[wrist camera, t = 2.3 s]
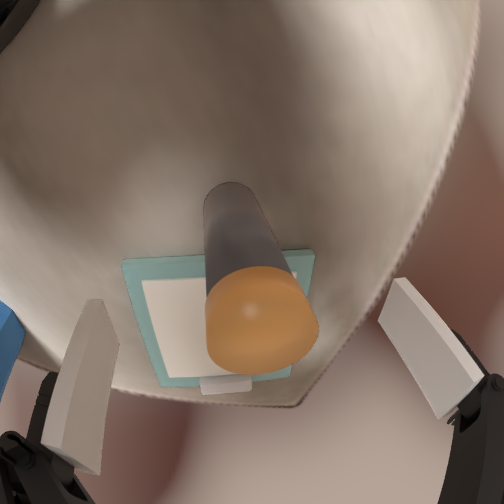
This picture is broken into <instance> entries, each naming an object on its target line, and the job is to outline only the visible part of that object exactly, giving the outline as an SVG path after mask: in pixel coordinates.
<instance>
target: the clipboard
mask: <svg viewBox="0 0 504 504" xmlns="http://www.w3.org/2000/svg"><path fill="white" fill-rule="evenodd" d="M282 254H283V256H284V258H285V260H286V262H287V264H288V266H289V268H290V270H291V272H292V274H293V277H294V278H295V279H296V280H297V281H298V282H299V284H300V286H301V288H302V290H303V292H304V294H305V296H306V298H307V297H308V292H309V287H310V281H311V276H312V271H313V265H314V260H315V254H314V252H313V251H312V249H304V250H286V251H282ZM121 267H122V271H123V275H124V278H125V282H126V286H127V290H128V293H129V297H130V300H131V303H132V307H133V310H134V313H135V317H136V320H137V323H138V326H139V329H140V332H141V335H142V338H143V341H144V344H145V346H146V349H147V352H148V355H149V357H150V360H151V363H152V365H153V368H154V370H155V373H156V376H157V378H158V380H159V383H160V385H161V387H193V386H200V389H201V393H202V395H210V394H225V393H236V392H246V391H252V382H256V381H264V380H272V379H279V378H286V377H289V376H290V372H291V368H292V365H290V366H288V367H286V368H284V369H281V370H278V371H275V372H271V373H267V374H260V375H242V374H236V373H232V372H229V371H227V370H224V369H223V368H221V367H219V366H218V365H216V364H215V363H214V362H213V361H212V359H211V358H210V356H209V354H208V351H207V342H206V325H205V302H206V299H207V298H206V276H205V255H193V256H174V257H156V258H137V259H124V260H123V263H122V265H121Z"/></svg>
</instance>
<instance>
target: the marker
mask: <svg viewBox="0 0 504 504" xmlns="http://www.w3.org/2000/svg"><path fill="white" fill-rule="evenodd" d="M204 248H205V276H206V298H207V299H206V302H205V325H206V342H207V351H208V354H209V356H210V358H211V359H212V361H213V362H214V363H215V364H216V365H218V366H219V367H221V368H223V369H224V370H227V371H229V372H232V373H236V374H242V375H260V374H267V373H271V372H275V371H278V370H281V369H284V368H286V367H288V366H290V365H292V364H294V363H295V362H297V361H298V360H300V359H301V358H302V357H303V356H305V355H306V354H307V353H308V352H309V351H310V349H311V348H312V347H313V345H314V343H315V342H316V339H317V337H318V332H319V326H318V322H317V320H316V317H315V315H314V313H313V311H312V309H311V307H310V305H309V302H308V300H307V298H306V296H305V294H304V292H303V290H302V288H301V286H300V284H299V282H298V281H297V280H296V279H295V278H294V277H293V274H292V272H291V270H290V268H289V266H288V264H287V262H286V260H285V258H284V256H283V254H282V251H281V249H280V247H279V245H278V243H277V241H276V239H275V237H274V235H273V233H272V231H271V229H270V227H269V225H268V223H267V221H266V219H265V217H264V215H263V213H262V211H261V209H260V207H259V205H258V203H257V200H256V198H255V197H254V195H253V193H252V192H251V191H250V190H249V189H248V188H247V187H246V186H244V185H242V184H239V183H232V182H230V183H224V184H221V185H219V186H217V187H215V188H214V189H213V190H211V191H210V193H209V194H208V195H207V197H206V199H205V202H204Z"/></svg>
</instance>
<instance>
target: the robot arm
mask: <svg viewBox="0 0 504 504" xmlns="http://www.w3.org/2000/svg"><path fill="white" fill-rule="evenodd" d="M39 1H40V0H0V52H1V51H2V50H3V49H4V48H5V47H6V46H7V45H8V43H9V42H10V41H11V40H12V39H13V38H14V36H15V35H16V34H17V33H18V31H19V30H20V29H21V27H22V26H23V25H24V23H25V22H26V21H27V19H28V18H29V16H30V15H31V13H32V12H33V10H34V9H35V7H36V6H37V4H38V3H39ZM378 322H379V323H380V325H381V326H382V328H383V329H384V331H385V332H386V334H387V336H388V337H389V338H390V340H391V342H392V343H393V345H394V346H395V348H396V350H397V351H398V353H399V354H400V356H401V357H402V359H403V361H404V362H405V364H406V365H407V367H408V369H409V370H410V372H411V374H412V375H413V377H414V379H415V380H416V382H417V384H418V385H419V387H420V389H421V390H422V392H423V394H424V396H425V397H426V399H427V401H428V403H429V404H430V406H431V408H432V410H433V411H434V413H435V415H436V417H437V419H438V420H439V419H441V418H443V417H445V416H446V415H448V414H450V413H451V412H452V411H453V410H454V409H455V408H456V407H457V406H458V408H459V410H458V411H456V413H455V414H453V415H452V416H451V417H450V419H449V420H448V422H447V424H449V423H451V422H452V421H453V420H454V419H455V421H453V423H452V425H454V433H453V440H452V446H451V451H450V457H449V461H448V466H447V471H446V475H445V479H444V483H443V487H442V491H441V494H440V497H439V501H438V504H504V378H502V376H500V375H498V374H491V375H490V374H489V373H488V372H487V370H486V369H485V368H484V366H483V365H482V363H481V362H480V361H479V359H478V358H477V357H476V355H475V354H474V353H473V351H471V349H470V348H469V346H468V345H466V342H465V341H464V340H463V339H462V337H461V336H460V335H459V334H458V333H456V332H455V331H454V330H452V329H449V328H448V326H447V325H446V324H445V323H444V322H443V321H442V319H441V318H440V317H439V315H438V314H437V313H436V312H435V311H434V309H433V308H432V307H431V306H430V305H429V304H428V303H427V301H426V300H425V299H424V298H423V297H422V296H421V295H420V293H419V292H418V291H417V290H416V289H415V288H414V287H413V286H412V284H411V283H410V282H409V281H408V280H407V279H406V278H405V277H404V278H397V279H393V282H392V285H391V288H390V291H389V293H388V296H387V299H386V301H385V304H384V307H383V309H382V312H381V314H380V317H379V319H378ZM119 345H120V343H119V341H118V339H117V336H116V334H115V331H114V329H113V326H112V324H111V321H110V318H109V316H108V313H107V310H106V307H105V305H104V302H103V299H98V300H87V301H86V303H85V306H84V308H83V310H82V313H81V315H80V317H79V320H78V322H77V325H76V327H75V330H74V332H73V335H72V337H71V340H70V343H69V345H68V348H67V351H66V354H65V356H64V359H63V362H62V365H61V368H60V371H59V373H56V372H49V373H48V375H47V376H46V377H45V379H44V380H43V381H42V384H41V387H40V390H39V396H38V397H37V399H36V405H35V406H34V410H33V413H32V418H31V421H30V425H29V429H28V433H27V437H26V439H25V438H24V437H22V436H21V435H20V434H19V433H17V432H15V431H7V432H5V433H4V434H2V435H1V436H0V504H95V502H94V501H93V500H92V498H91V497H90V495H89V494H88V493H87V491H86V490H85V488H84V487H83V485H82V484H81V483H80V481H79V479H78V478H77V476H76V475H75V474H74V467H75V468H77V469H78V470H80V471H81V472H86V473H90V474H95V475H100V467H101V455H102V445H103V436H104V428H105V420H106V413H107V407H108V401H109V395H110V389H111V384H112V378H113V373H114V368H115V363H116V359H117V354H118V349H119Z"/></svg>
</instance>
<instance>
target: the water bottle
mask: <svg viewBox="0 0 504 504" xmlns="http://www.w3.org/2000/svg"><path fill="white" fill-rule="evenodd" d="M24 336H25V330H24V329H23V327H22V326H21V324H20V322H19V321H18V319H17V317H16V316H15V314H14V312H13V310H12V309H10V308H9V307H8V306H6V305H5V304H4V303H2V302H1V301H0V401H1V398H2V395H3V392H4V389H5V387H6V384H7V381H8V378H9V376H10V373H11V370H12V368H13V365H14V363H15V361H16V358H17V356H18V354H19V351H20V349H21V347H22V344H23V340H24Z"/></svg>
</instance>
